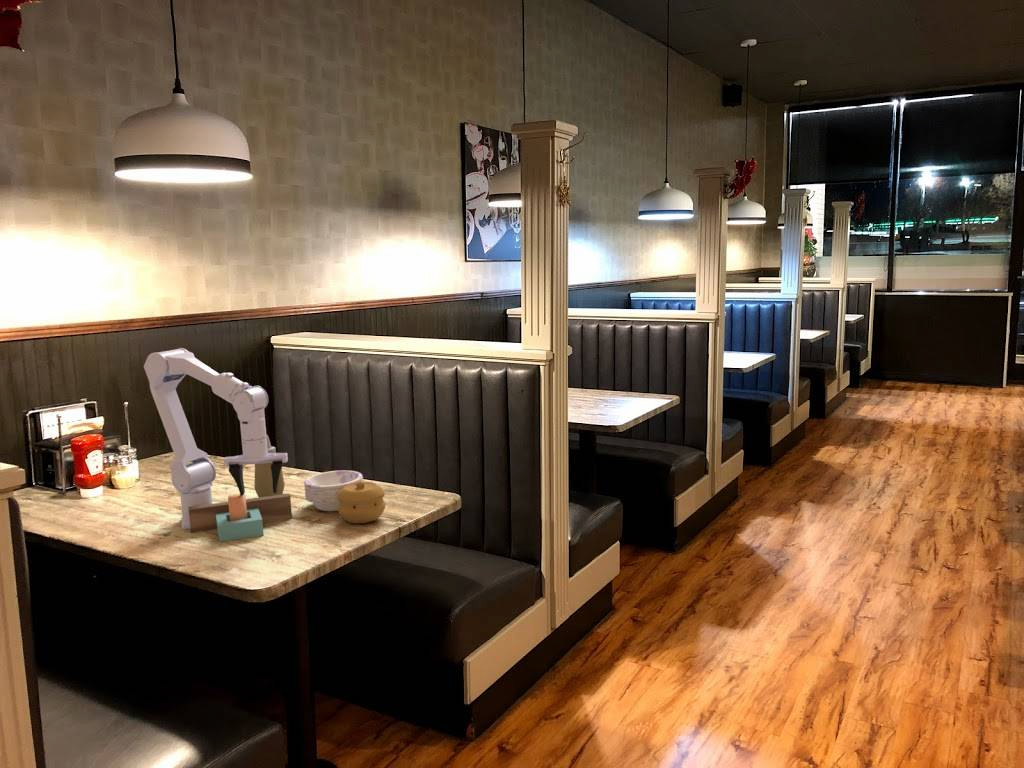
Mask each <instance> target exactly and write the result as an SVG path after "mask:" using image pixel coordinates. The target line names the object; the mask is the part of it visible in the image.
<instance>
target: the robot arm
mask: <svg viewBox="0 0 1024 768" xmlns="http://www.w3.org/2000/svg"><path fill="white" fill-rule="evenodd" d="M143 368H144V371H145V374H146V377H147V379H148V382H149V389H150V392H151V395H152V398H153V400H154V403H155V406H156V409H157V411H158V414H159V417H160V419H161V421H162V425H163V428H164V430H165V433H166V435H167V438H168V441H169V443H170V447H171V449H172V452H173V454H174V457H173V459H172V461H171V462H170V464H169V470H170V474H171V476H170V477H171V484H172V486H173V487H174V489H175V490H177V492H178V493H179V496H180V504H181V505H180V507H181V514H182V516H181V518H180V519H181V520H180V521H181V522H180V523H181V530H191V529H190V519H189V508H188V507H192V506H200V505H207V504H213V498H212V489H211V487H212V486H213V482H214V481H215V479H216V476H217V468H216V466H215V465H214V463H213V462H212V460H210V458H209V455H208V453H207V452H205V451H204V450H201V449H200V448H198V447H197V444H196V441H195V438H194V435H193V434H192V430H191V428H190V424H189V422H188V419H187V417H186V414H185V412H184V409H183V406H182V403H181V402H180V401H181V400H180V398H179V395H178V392H177V390H176V389H177V387H178V386H179V383H180V382H181V381H182V380H183V379H184V377H185V376H186V375H188V376H190V377H192V378H194V379H196V380H198V381H200V382H202V383H204V384H206V385H208V386H210V387H211V390H212V392H213V394H215V395H216V396H218V397H220V398H222V399H223V400H225V401H226V402H228V403H229V404H231V405H232V406H233V409H234V411H235V412H236V414H237V419H238V420H239V424H240V425H239V427H240V435H241V436H240V437H241V447H242V454H240V455H234V456H225V457H224V458H223V467H225V468H227V467H229V468H228V472H229V474H230V475H231V477H232V478H233V480H234V482H235V484H236V486H237V488H238V493H239V494H240V495H245V494H246V490H245V484H244V470H243V467H244V466H245V465H255V464H261V463H272V465H271V472H272V479H273V493H276V492H277V486H278V479H279V475H280V472H281V469H282V468H283V465H284V464H285V463H287V462H288V460H289V457H288V452H276V453H268V449H267V437H266V435H267V427H266V417H265V416H266V414H265V409H266V408H267V406H268V404H269V395H268V393H267V391H266V390H265V389H264V388H263V387H262V386H260V385H253V386H252V385H250V384H249V383H248V382H247V381H246V382H244V381H242V380H240V379H238V378H237V377H235V376H234V373H232V372H222V373H219V372H217V371H216V370H214V369H212V368H211V367H210V366H208V365H206V364H205V363H203V362H202V361H201V360H199V359H198V358H196V357H195V354H194V353H193V352H191V351H189V350H187V349H186V348H183V347H179V348H176V349H171V350H166V351H159V352H151V353H150V354H148V356H147V358H146V360H145V362H144V365H143ZM188 463H189V464H188ZM243 465H244V466H243ZM282 470H283V469H282Z"/></svg>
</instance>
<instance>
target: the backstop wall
mask: <svg viewBox="0 0 1024 768" xmlns="http://www.w3.org/2000/svg"><path fill="white" fill-rule="evenodd" d="M291 501H292V500H291V494H290V493H283V494H281V495H274V496H266V497H251V498H246V507H247V509H253V508H258V509H259V512H260V514H261V517H262V522H263V523H270V522H275V521H276V522H277V521H284V520H289V519H292V518H293V515H292V514H293V513H292V502H291ZM188 508H189V519H190V529H189V530H190V534H194V533H200V531H202V532H208V530H209V531H214V530H213V529H215V530H217V523H216V514H217V513H224V512H229V504H228V501H223V502H222V501H221V502H217V503H216V502H215V503H212V504H207V505H200V506H192V507H188Z"/></svg>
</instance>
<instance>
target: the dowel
mask: <svg viewBox="0 0 1024 768" xmlns="http://www.w3.org/2000/svg"><path fill="white" fill-rule="evenodd" d="M227 499H228V500H227V502H228V504H229V514H230V521H234V520H241V519H248V518H247V507H246V499H247V498H246V494H244V495H240V493H236V494H231V495H229V496H227Z"/></svg>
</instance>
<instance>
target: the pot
mask: <svg viewBox="0 0 1024 768" xmlns="http://www.w3.org/2000/svg"><path fill="white" fill-rule="evenodd" d="M385 496H386V495H385V490H384V488H383V487H382V486H381V485H379V484H377V483H374V482H371V481H363V482H362V481H359V482H357V483H353V484H349V485H347V486H345V487H343V488H342V489H341V490H340V492H339V493H338V495H337V497H338V498H337V499H338V501H340V504H339V506H338V511H337V512H338V513H339V515H340V516H341V518H342V519H343V520H345V521H346V522H348V523H353V524H367V523H370V522H374V521H376V520H377V519H380V517H381V516H382V515H383V513H384V512H385V509H386V505H387V503H386V502H385V500H384V497H385Z"/></svg>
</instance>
